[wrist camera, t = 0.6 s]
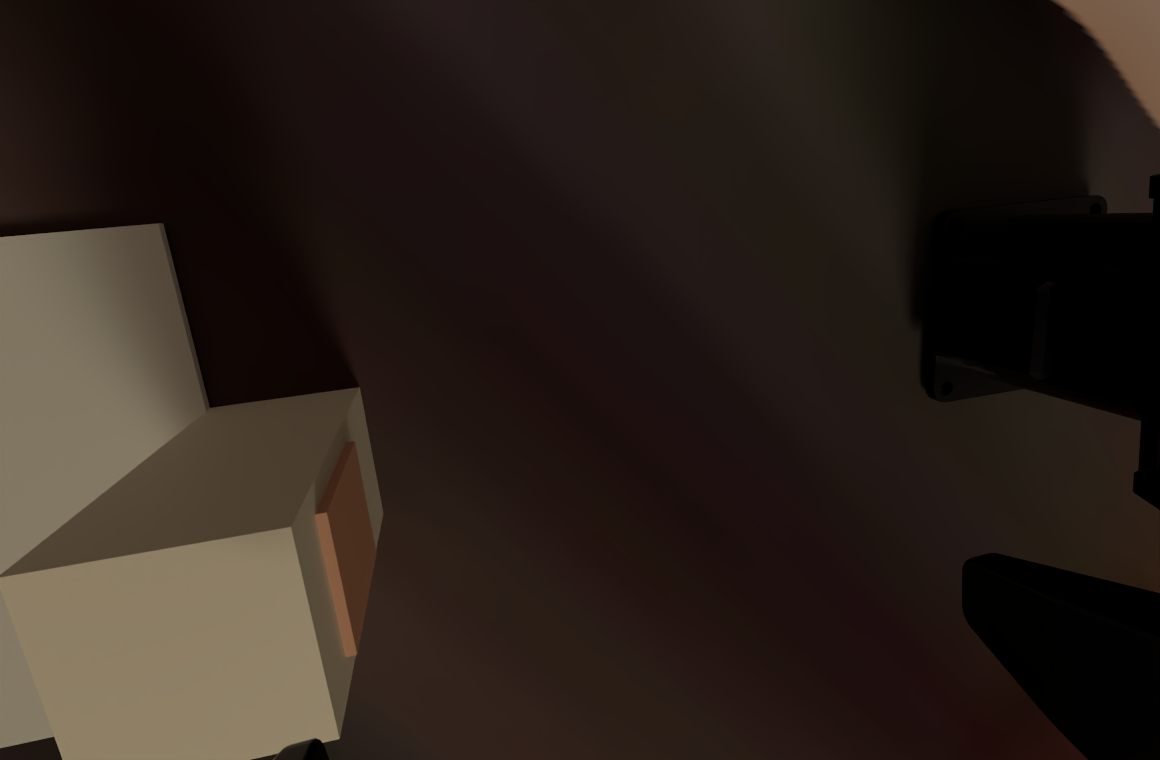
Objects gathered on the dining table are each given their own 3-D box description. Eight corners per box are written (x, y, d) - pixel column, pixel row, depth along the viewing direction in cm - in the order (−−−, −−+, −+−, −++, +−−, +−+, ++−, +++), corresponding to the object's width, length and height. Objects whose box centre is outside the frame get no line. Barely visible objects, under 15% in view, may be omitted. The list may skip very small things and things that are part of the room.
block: (366, 386, 18) (304, 524, 10) (389, 511, 19) (352, 735, 11) (210, 407, 18) (-4, 578, 9) (242, 537, 19) (77, 800, 10)
